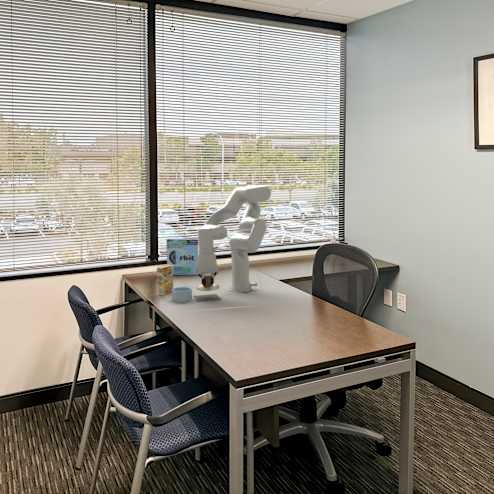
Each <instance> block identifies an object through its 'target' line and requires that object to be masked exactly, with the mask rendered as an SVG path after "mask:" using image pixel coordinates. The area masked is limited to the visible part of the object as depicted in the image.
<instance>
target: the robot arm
mask: <svg viewBox="0 0 494 494" xmlns="http://www.w3.org/2000/svg"><path fill="white" fill-rule="evenodd" d="M271 195H272V191H271V189H270V187H269V186H267V185H257V184H256V185H252V184H250V185H247V186H245V187H244V186H237V187H236V188H234V189H233V191H232V192H230V195H229V196H228V198H227V200H226V201H225V203H224V204H223V206H221V207H220V208H219V209H218V210H216V211H215V212H213V213H212V214H210V216H209V217H208V218H207V219H206V221H205V222H204V224H203V226H202V227H201V226H200V227H199V228H198V229H197V233H198V234H197V235H198V238H197V239H198V255H197V269H196V271H195V273H194V274H196V275H195V276H198V277H199V278H201V279H200V280H201V284H202V285H203V286H205V279H204V276H205V274H209V273H210V276H211V285H212V286H213V284H215V277H216V276H217V275H218V274H220V272H221V270H220V269H219V267H218V263H217V262H218V261H217V256H216V253H215V251H217V248H216V247H214V240H215V241H221V240H224V239H225V238H226V237H227V236H228V230H227V228H226V227H225V226H223V225H220V224H221V223H223V222H225V221H228V220H231V219H233V218H234V217H236V216H237V215H238V213H239V212H240V210H241V208H242V206H243V205H244V204H245V207H246V208H245V210H244V213H243V215H242V217H241V219H240V222H239V225H238V228H239V231H240V232H241V233H235V234H233V235H232V236H231V237H230V238H229V248H230V253H231V255H230V256H231V286H230V287H229V288H228V289H229V291H230V292H236V293H248V292H251V291H252V289H253V288H252V287H258V282H253V281H252V282H251V281H250V266H249V265H250V264H249V263H250V259H249V254H252V253H256V252H257V251H258V250H259V248H260V247H261V243H262V240H263V239H264V236H265V234H266V231H267V223H266V220H265V219H263V218H261V217H260V216H261V211H262V210H261V205H260V203H263V202H267V201H268V200H270V198H271ZM248 253H249V254H248Z"/></svg>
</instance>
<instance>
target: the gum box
mask: <svg viewBox="0 0 494 494" xmlns="http://www.w3.org/2000/svg"><path fill="white" fill-rule="evenodd" d="M198 254H199V239H198V238H167V239H166V265H172V267H173V276H178V275H179V276H197V275H196V274H194V273H195V271H196V269H197V255H198Z"/></svg>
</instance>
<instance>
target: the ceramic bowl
mask: <svg viewBox="0 0 494 494" xmlns="http://www.w3.org/2000/svg"><path fill="white" fill-rule="evenodd" d="M192 300H193V289H192V287H189V286H177V287H173V289H172V292H171V301H172V302H175V303H176V302H177V303H185V302H187V303H188V302H190V301H192Z"/></svg>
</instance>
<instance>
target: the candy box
mask: <svg viewBox="0 0 494 494" xmlns="http://www.w3.org/2000/svg"><path fill="white" fill-rule="evenodd" d="M156 277H157V281H156V282H157V295H158V296H163V297H164V295H168V294H170V293H171V294H172V289H173V288H174V275H173V267H172V265H167V264H166V265H162V266H157V267H156Z"/></svg>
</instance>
